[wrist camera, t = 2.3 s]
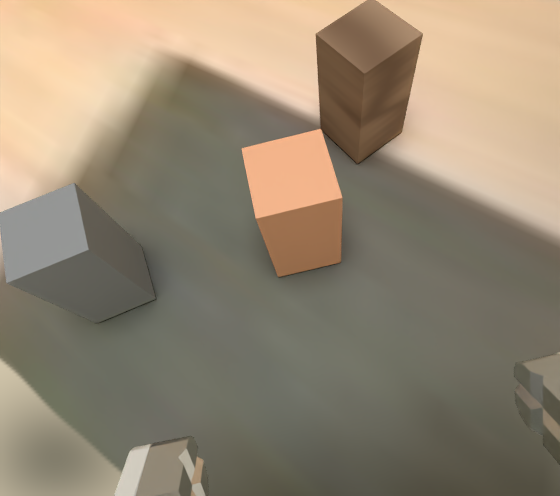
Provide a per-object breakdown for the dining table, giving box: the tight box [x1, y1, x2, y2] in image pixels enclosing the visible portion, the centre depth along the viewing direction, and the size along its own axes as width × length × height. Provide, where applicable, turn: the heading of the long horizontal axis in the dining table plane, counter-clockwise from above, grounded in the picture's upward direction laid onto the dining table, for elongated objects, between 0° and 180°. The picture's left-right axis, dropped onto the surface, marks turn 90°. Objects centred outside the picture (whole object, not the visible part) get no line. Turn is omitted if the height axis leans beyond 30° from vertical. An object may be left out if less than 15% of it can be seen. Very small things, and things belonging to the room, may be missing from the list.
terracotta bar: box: [242, 129, 342, 277], centre depth 26 cm, size 4×4×9 cm
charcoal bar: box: [0, 183, 156, 323], centre depth 27 cm, size 4×4×9 cm
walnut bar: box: [316, 0, 423, 164], centre depth 30 cm, size 4×4×9 cm
